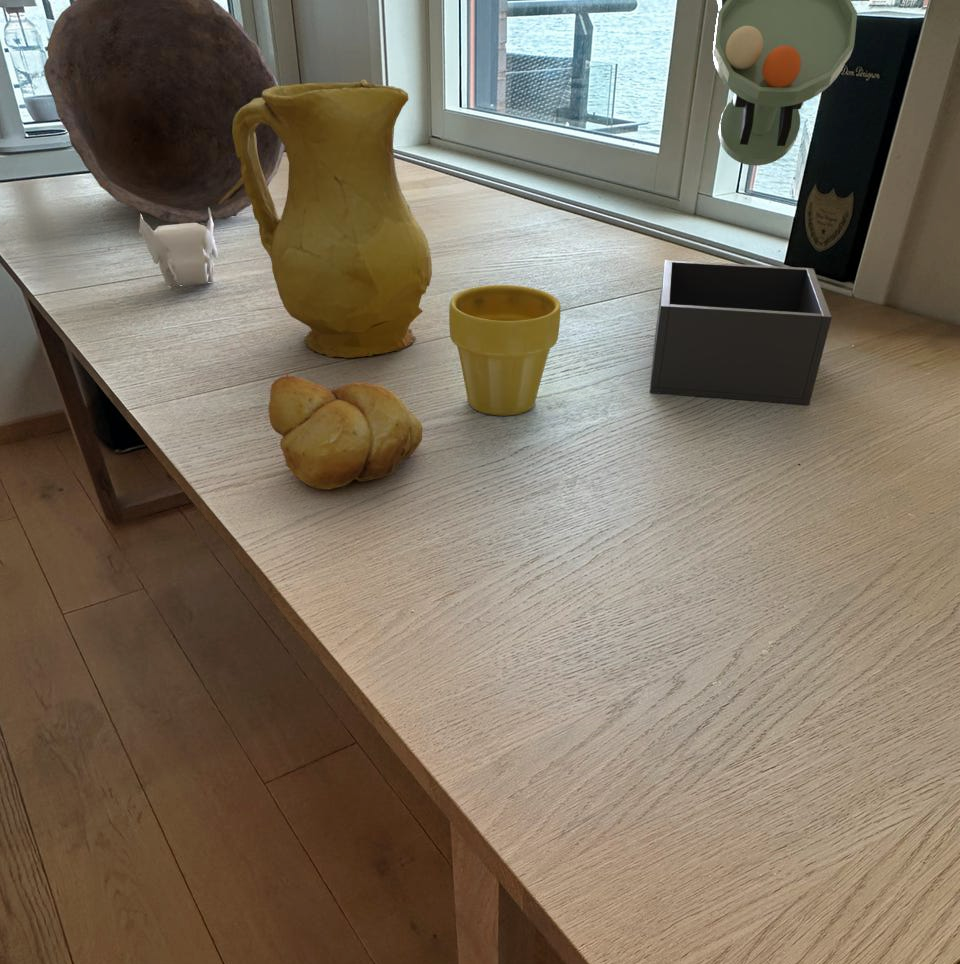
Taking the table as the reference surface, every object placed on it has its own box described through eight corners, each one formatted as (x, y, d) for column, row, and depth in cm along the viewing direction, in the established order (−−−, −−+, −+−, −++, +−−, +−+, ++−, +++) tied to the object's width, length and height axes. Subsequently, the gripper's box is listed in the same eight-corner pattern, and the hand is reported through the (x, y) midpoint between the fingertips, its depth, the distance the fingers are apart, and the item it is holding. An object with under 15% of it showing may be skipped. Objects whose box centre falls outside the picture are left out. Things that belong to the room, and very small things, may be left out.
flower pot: (576, 408, 84) (584, 306, 78) (489, 434, 79) (490, 328, 73) (514, 373, 90) (517, 277, 84) (430, 396, 86) (427, 296, 80)
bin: (794, 348, 96) (813, 268, 91) (809, 405, 84) (832, 316, 79) (654, 338, 99) (665, 259, 93) (649, 392, 87) (661, 306, 81)
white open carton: (159, 302, 108) (142, 226, 102) (148, 276, 116) (131, 204, 111) (235, 293, 111) (222, 219, 105) (219, 268, 119) (206, 198, 114)
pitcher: (352, 376, 88) (322, 90, 74) (247, 342, 99) (202, 84, 84) (466, 338, 99) (459, 79, 84) (360, 310, 109) (337, 76, 94)
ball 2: (784, 32, 75) (789, 69, 78) (752, 55, 75) (758, 90, 78) (805, 42, 73) (810, 79, 76) (772, 65, 73) (778, 101, 76)
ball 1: (765, 71, 77) (762, 41, 74) (728, 82, 78) (724, 53, 75) (763, 42, 77) (760, 11, 74) (727, 53, 79) (722, 23, 76)
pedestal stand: (823, 77, 89) (861, -34, 76) (812, 186, 88) (849, 92, 75) (705, 75, 90) (723, -34, 78) (693, 181, 89) (709, 89, 77)
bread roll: (406, 432, 80) (402, 346, 74) (448, 478, 73) (446, 387, 68) (270, 459, 75) (255, 370, 70) (300, 510, 68) (286, 416, 63)
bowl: (107, 6, 148) (119, -92, 122) (280, 151, 164) (325, 92, 138) (4, 172, 146) (-5, 108, 119) (190, 302, 162) (218, 272, 136)
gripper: (862, -53, 87) (840, 164, 85) (702, -53, 89) (677, 158, 87) (887, -126, 79) (863, 109, 77) (712, -124, 82) (684, 104, 80)
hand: (765, 135), depth 82 cm, fingers closed on pedestal stand, 3 cm apart
